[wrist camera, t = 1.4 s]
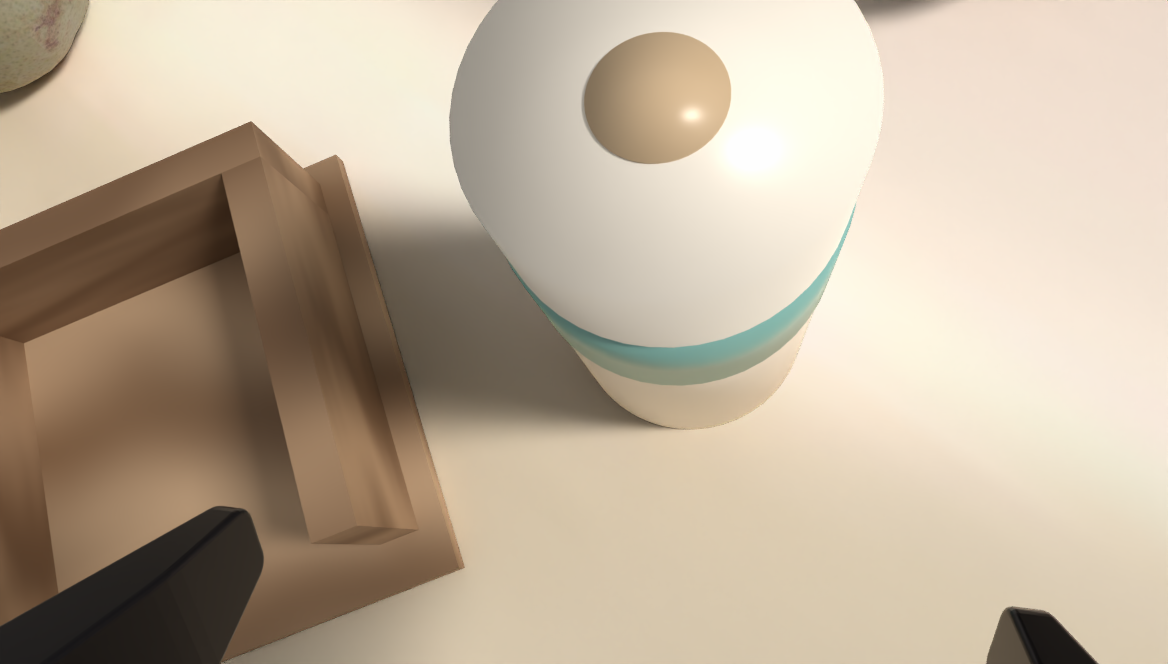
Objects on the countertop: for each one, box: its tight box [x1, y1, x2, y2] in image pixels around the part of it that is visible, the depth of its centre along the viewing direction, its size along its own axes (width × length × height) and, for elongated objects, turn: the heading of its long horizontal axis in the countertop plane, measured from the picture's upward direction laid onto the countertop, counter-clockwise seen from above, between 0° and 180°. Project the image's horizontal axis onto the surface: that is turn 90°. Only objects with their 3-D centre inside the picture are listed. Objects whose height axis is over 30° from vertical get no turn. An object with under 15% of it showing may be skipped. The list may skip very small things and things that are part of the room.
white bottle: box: [449, 0, 884, 429], centre depth 18 cm, size 7×7×12 cm
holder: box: [0, 122, 465, 662], centre depth 23 cm, size 14×14×4 cm
